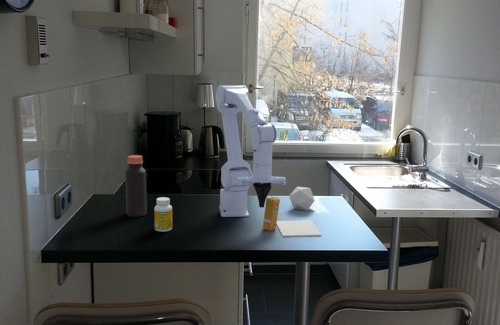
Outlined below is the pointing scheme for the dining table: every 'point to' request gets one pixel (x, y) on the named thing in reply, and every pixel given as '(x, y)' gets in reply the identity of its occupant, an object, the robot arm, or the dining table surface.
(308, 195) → the die
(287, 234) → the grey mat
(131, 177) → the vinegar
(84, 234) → the dining table surface
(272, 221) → the supplement box
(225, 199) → the robot arm
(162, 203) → the supplement bottle
